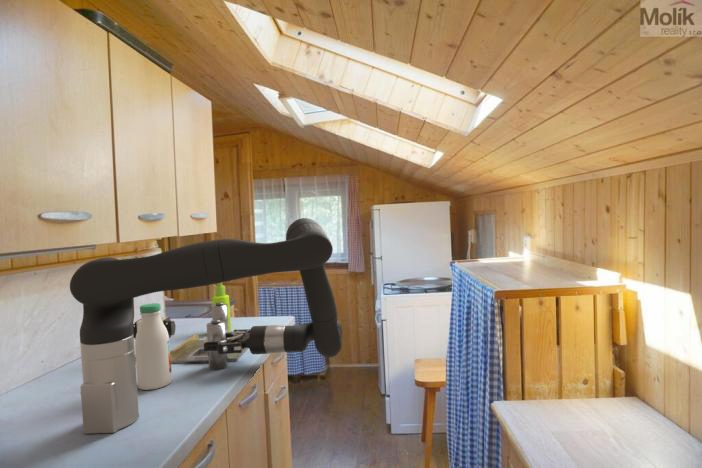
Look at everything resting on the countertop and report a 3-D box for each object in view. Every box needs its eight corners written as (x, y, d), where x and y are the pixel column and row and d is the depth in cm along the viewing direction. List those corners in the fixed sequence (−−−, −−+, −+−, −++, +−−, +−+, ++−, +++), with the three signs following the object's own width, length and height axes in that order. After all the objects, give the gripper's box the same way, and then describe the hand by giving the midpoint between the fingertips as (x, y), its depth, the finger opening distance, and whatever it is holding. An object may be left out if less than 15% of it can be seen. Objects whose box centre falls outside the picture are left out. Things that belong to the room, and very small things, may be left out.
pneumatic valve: (172, 355, 125) (170, 316, 124) (131, 358, 123) (129, 319, 123) (178, 349, 130) (175, 312, 130) (139, 353, 129) (136, 314, 128)
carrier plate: (236, 361, 116) (233, 314, 116) (166, 364, 117) (163, 316, 116) (255, 340, 137) (252, 299, 136) (195, 342, 137) (193, 302, 137)
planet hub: (224, 369, 111) (221, 322, 110) (206, 370, 111) (203, 323, 110) (229, 363, 115) (227, 318, 115) (212, 363, 116) (210, 318, 115)
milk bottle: (167, 389, 99) (162, 306, 98) (133, 392, 98) (127, 309, 97) (175, 377, 107) (170, 300, 106) (143, 380, 106) (138, 302, 105)
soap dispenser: (208, 334, 147) (204, 278, 146) (224, 329, 153) (221, 275, 152) (218, 336, 144) (215, 279, 143) (234, 331, 149) (231, 276, 149)
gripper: (273, 319, 119) (218, 321, 120) (262, 333, 105) (199, 335, 106) (275, 345, 120) (219, 347, 120) (263, 362, 105) (201, 364, 106)
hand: (210, 341), depth 113 cm, fingers open, 8 cm apart
